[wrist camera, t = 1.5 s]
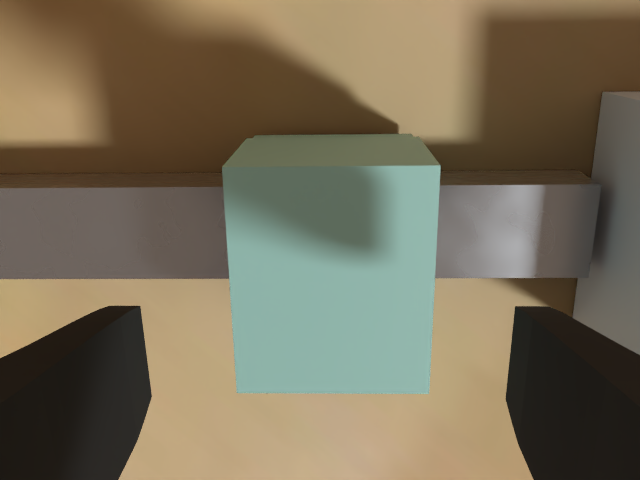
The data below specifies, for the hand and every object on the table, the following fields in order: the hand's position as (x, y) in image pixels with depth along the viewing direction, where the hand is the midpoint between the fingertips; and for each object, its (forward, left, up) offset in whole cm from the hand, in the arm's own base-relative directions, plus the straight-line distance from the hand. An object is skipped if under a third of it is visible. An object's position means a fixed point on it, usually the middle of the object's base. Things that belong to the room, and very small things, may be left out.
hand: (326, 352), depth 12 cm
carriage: (0, 0, -10) cm, 10 cm away
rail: (0, +3, -10) cm, 10 cm away
